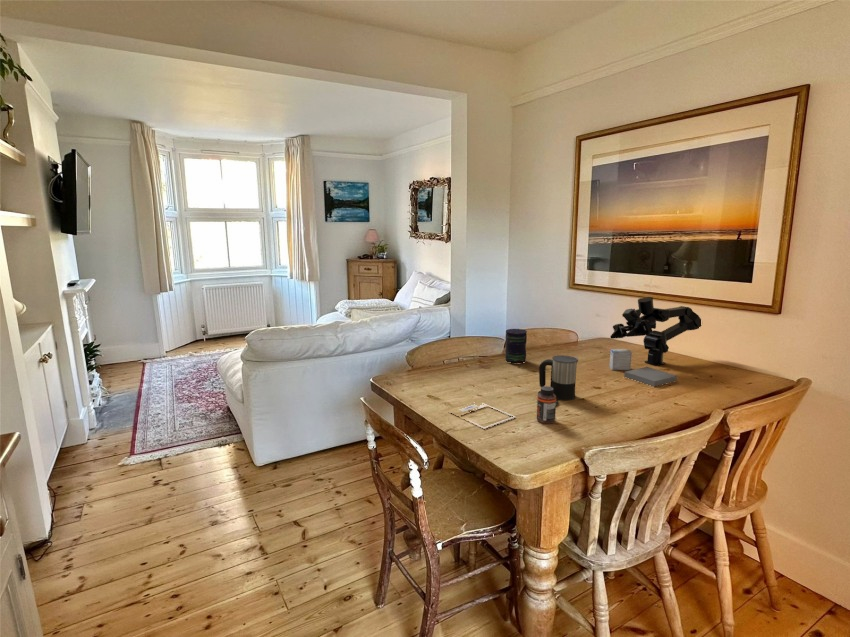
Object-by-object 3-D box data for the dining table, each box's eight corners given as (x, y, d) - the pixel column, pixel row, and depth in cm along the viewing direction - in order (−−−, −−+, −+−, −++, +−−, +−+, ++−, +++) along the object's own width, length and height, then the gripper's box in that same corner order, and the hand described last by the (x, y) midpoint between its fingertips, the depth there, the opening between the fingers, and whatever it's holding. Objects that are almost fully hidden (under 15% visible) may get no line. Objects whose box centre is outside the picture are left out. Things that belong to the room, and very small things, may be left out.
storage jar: (510, 357, 223) (511, 327, 220) (529, 360, 217) (530, 330, 214) (501, 362, 215) (502, 331, 212) (520, 365, 209) (521, 334, 206)
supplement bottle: (533, 417, 152) (535, 385, 150) (551, 416, 152) (552, 384, 150) (539, 424, 146) (541, 391, 144) (557, 424, 146) (559, 390, 144)
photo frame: (478, 400, 165) (515, 416, 151) (478, 403, 166) (515, 419, 151) (447, 410, 157) (484, 427, 143) (447, 413, 157) (484, 431, 143)
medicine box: (627, 367, 204) (628, 349, 203) (630, 370, 200) (632, 351, 198) (609, 367, 205) (610, 348, 203) (612, 370, 201) (613, 351, 199)
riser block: (646, 373, 197) (647, 366, 197) (676, 382, 185) (677, 375, 185) (624, 378, 191) (624, 371, 191) (653, 388, 179) (654, 381, 178)
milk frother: (574, 392, 174) (576, 355, 171) (579, 408, 159) (581, 367, 156) (536, 390, 177) (537, 353, 174) (537, 405, 162) (539, 365, 159)
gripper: (620, 309, 210) (596, 322, 205) (653, 303, 193) (627, 316, 187) (629, 331, 211) (605, 344, 205) (663, 327, 193) (637, 341, 188)
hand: (618, 336), depth 196 cm, fingers open, 9 cm apart
